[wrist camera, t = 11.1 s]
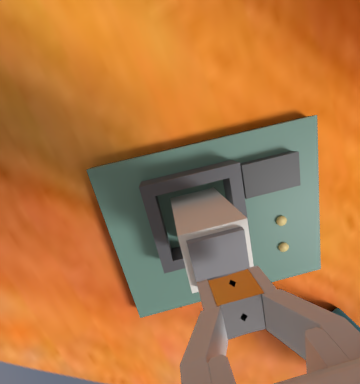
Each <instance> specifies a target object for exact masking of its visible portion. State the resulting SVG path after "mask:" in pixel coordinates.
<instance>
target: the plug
mask: <svg viewBox="0 0 360 384" xmlns="http://www.w3.org/2000/svg"><path fill="white" fill-rule="evenodd" d="M170 200H171V205H172V210H173V215H174V220H175V225H176V231H177V236H178V240H179V244H180V248H181V252H182V255H183V259H184V263H185V267H186V271H187V275H188V279H189V283H190V287H191V291H192V293H196V292H199V290H198V286H197V282H198V281H202V280H206V279H209V278H213V277H217V276H221V275H226V274H229V273H233V272H236V271H240V270H244V269H247V268H250V267H253V266H254V264H253V257H252V249H251V242H250V235H249V227H248V220H247V218H246V217H245V216H244V215H243V214H242V213H241V212H240V211H239V210H238V209H237V208H235V207H234V206H233V205H232V204H231V203H230V202H229V201H228V200H227V199H226V198H225V197H223V196H222V195H221V194H220V193H219V192H218V191H217V190H216V189H215V188H210V189H206V190H202V191H198V192H194V193H190V194H186V195H182V196H178V197H173V198H170Z"/></svg>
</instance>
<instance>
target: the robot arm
mask: <svg viewBox="0 0 360 384" xmlns="http://www.w3.org/2000/svg"><path fill="white" fill-rule="evenodd" d="M197 286H198V290H199V295H200V299H201V303H202V307H203V311H201V312H200V315H199V317H198V320H197V323H196V325H195V328H194V330H193V333H192V335H191V338H190V341H189V343H188V346H187V348H186V351H185V353H184V356H183V359H182V361H181V364H180V372H181V383H182V384H236V382H235V379H234V376H233V373H232V370H231V367H230V364H229V361H228V358H227V357H226V351H227V345H228V339H232V338H235V337H238V336H241V335H244V334H247V333H251V332H255V331H259V330H263V329H266V330H267V331H269V332H270V333H271V334H273V335H274V336H275V337H276V338H278V339H279V340H280V341H282V342H283V343H284V344H285V345H287V346H288V347H289V348H291V349H292V350H293V351H295V352H296V353H297V354H298V355H300V356H301V357H302V358H304V359H305V360H306V366H307V374H304V375H301V376H298V377H294V378H291V379H288V380H284V381H281V382H277V383H274V384H360V332H359V331H358V330H357V329H356V328H355V327H354V326H353V325H352V324H351V323H350V322H349V321H348V320H346V319H345V318H344V317H342V316H339V315H337V314H335V313H333V312H330V311H328V310H326V309H324V308H322V307H319V306H317V305H315V304H313V303H310V302H308V301H306V300H304V299H302V298H299V297H297V296H295V295H293V294H290V293H288V292H286V291H284V290H282V289H279V290H277V289H276V287H275V286H274V285H273V284H272V282H271V281H270V280H269V279H268V277H267V276H266V275H265V274H264V272H263V271H262V270H261V269H260V267H259V266H253V267H250V268H247V269H244V270H240V271H236V272H233V273H229V274H226V275H221V276H217V277H213V278H209V279H206V280H202V281H198V282H197Z"/></svg>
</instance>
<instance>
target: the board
mask: <svg viewBox="0 0 360 384" xmlns="http://www.w3.org/2000/svg"><path fill="white" fill-rule="evenodd" d="M87 173H88V176H89V179H90V181H91V184H92V187H93V190H94V192H95V195H96V198H97V200H98V203H99V206H100V209H101V211H102V214H103V217H104V220H105V222H106V225H107V228H108V231H109V233H110V236H111V239H112V242H113V244H114V247H115V250H116V252H117V255H118V258H119V261H120V263H121V266H122V269H123V272H124V274H125V277H126V280H127V283H128V285H129V288H130V291H131V294H132V296H133V299H134V302H135V304H136V307H137V310H138V313H139V315H140V318H141V317H145V316H149V315H152V314H156V313H160V312H164V311H167V310H171V309H175V308H178V307H182V306H186V305H189V304H193V303H197V302H200V301H201V299H200V295H199V292H196V293H192V291H191V287H190V283H189V279H188V275H187V271H186V267H185V263H184V259H183V255H182V252H181V248H180V244H179V240H178V236H177V231H176V225H175V220H174V215H173V210H172V205H171V200H170V198H173V197H178V196H182V195H186V194H190V193H194V192H198V191H202V190H206V189H210V188H215V189H216V190H217V191H218V192H219V193H220V194H221V195H222V196H223V197H225V198H226V199H227V200H228V201H229V202H230V203H231V204H232V205H233V206H234V207H235V208H237V209H238V210H239V211H240V212H241V213H242V214H243V215H244V216H245V217H246V218H247V220H248V227H249V235H250V242H251V249H252V257H253V264H254V266H259V267H260V269H261V270H262V271H263V272H264V274H265V275H266V276H267V277H268V279H269V280H270V281H271V282H274V281H278V280H282V279H285V278H289V277H293V276H296V275H300V274H304V273H307V272H311V271H315V270H319V269H321V264H320V221H319V177H318V134H317V115H314V116H307V117H303V118H299V119H294V120H290V121H286V122H282V123H278V124H273V125H269V126H265V127H261V128H257V129H252V130H248V131H244V132H240V133H235V134H231V135H227V136H223V137H219V138H214V139H210V140H206V141H202V142H198V143H193V144H189V145H185V146H181V147H177V148H172V149H168V150H164V151H160V152H156V153H151V154H147V155H143V156H139V157H135V158H130V159H126V160H122V161H118V162H114V163H109V164H105V165H101V166H97V167H92V168H90V169H87Z"/></svg>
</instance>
